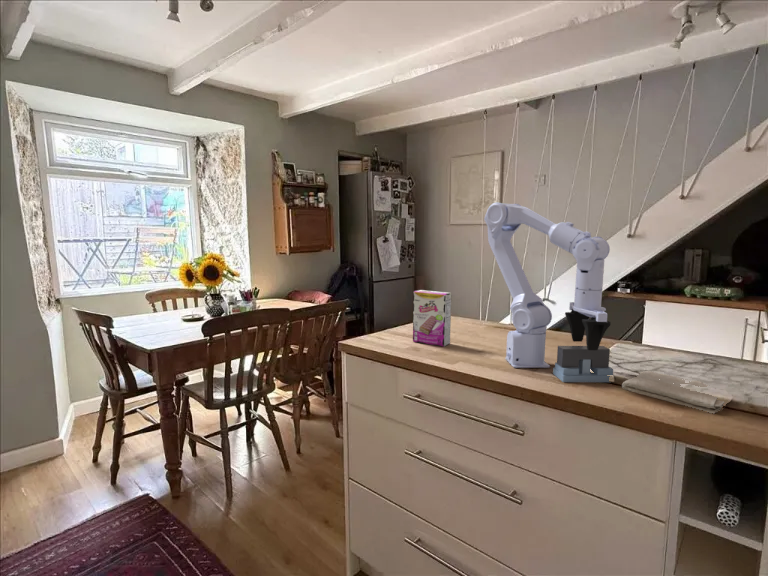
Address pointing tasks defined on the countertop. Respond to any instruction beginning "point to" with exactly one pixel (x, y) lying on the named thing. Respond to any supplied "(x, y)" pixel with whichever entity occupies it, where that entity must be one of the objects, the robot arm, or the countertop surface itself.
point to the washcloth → (672, 391)
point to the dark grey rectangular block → (582, 356)
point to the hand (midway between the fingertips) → (584, 345)
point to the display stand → (582, 373)
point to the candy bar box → (432, 317)
